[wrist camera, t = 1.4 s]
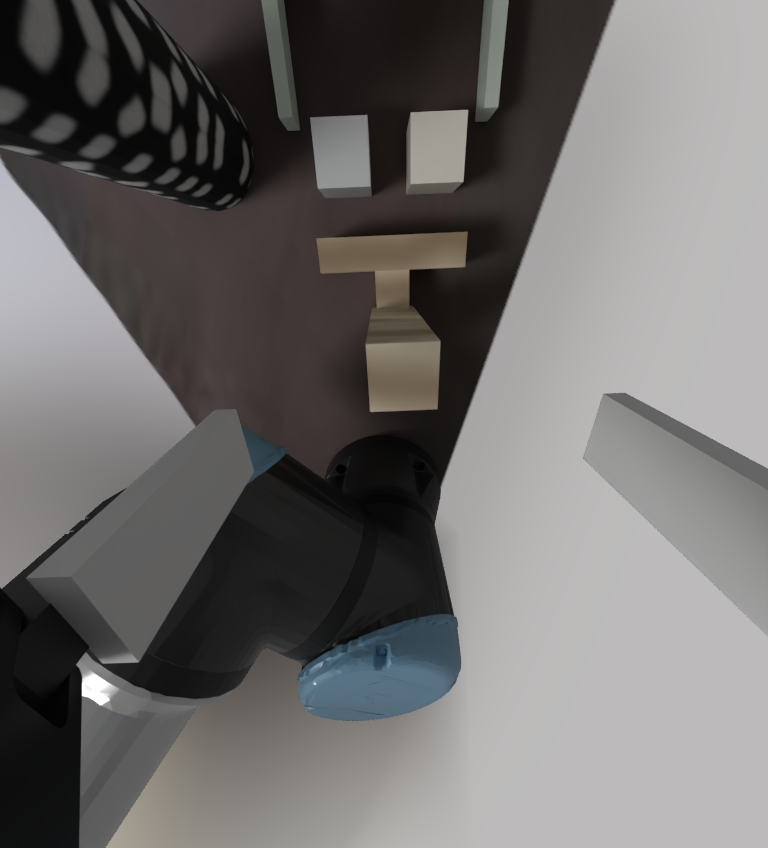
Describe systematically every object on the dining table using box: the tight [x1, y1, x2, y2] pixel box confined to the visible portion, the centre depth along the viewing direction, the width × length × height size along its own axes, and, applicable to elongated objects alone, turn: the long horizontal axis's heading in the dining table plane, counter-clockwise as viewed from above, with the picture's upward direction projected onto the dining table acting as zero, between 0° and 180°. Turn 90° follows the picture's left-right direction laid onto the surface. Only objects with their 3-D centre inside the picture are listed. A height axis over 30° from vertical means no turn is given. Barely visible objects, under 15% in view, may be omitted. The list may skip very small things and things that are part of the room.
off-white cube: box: [406, 110, 468, 195], centre depth 24 cm, size 4×4×4 cm
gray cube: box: [310, 115, 372, 198], centre depth 24 cm, size 4×4×4 cm
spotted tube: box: [0, 0, 254, 211], centre depth 16 cm, size 8×8×20 cm
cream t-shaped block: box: [317, 232, 468, 412], centre depth 23 cm, size 10×12×16 cm
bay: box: [261, 0, 509, 131], centre depth 21 cm, size 8×16×2 cm, turn 92°
